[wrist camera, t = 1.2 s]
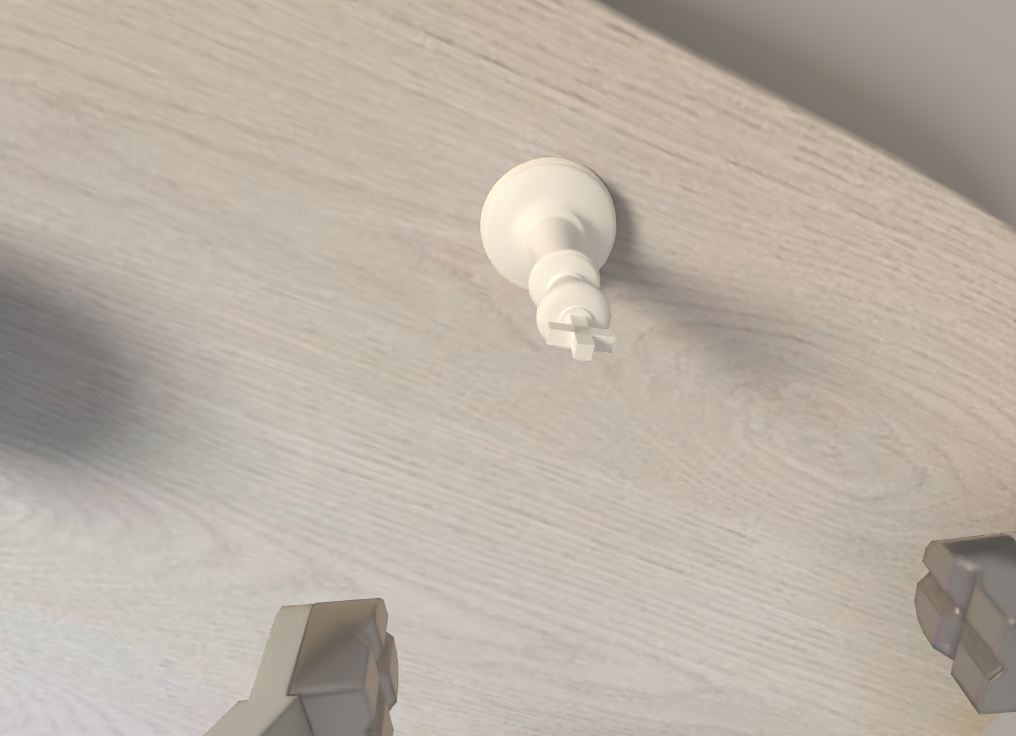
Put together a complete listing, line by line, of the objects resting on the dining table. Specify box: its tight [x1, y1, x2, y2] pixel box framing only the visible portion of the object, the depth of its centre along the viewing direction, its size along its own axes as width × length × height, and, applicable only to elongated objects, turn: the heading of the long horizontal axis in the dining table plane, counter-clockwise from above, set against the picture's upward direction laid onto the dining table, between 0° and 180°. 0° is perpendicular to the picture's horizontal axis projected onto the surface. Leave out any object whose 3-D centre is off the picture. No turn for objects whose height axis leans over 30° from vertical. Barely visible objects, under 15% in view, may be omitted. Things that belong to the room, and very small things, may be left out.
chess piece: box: [480, 158, 616, 361], centre depth 22 cm, size 5×5×10 cm
